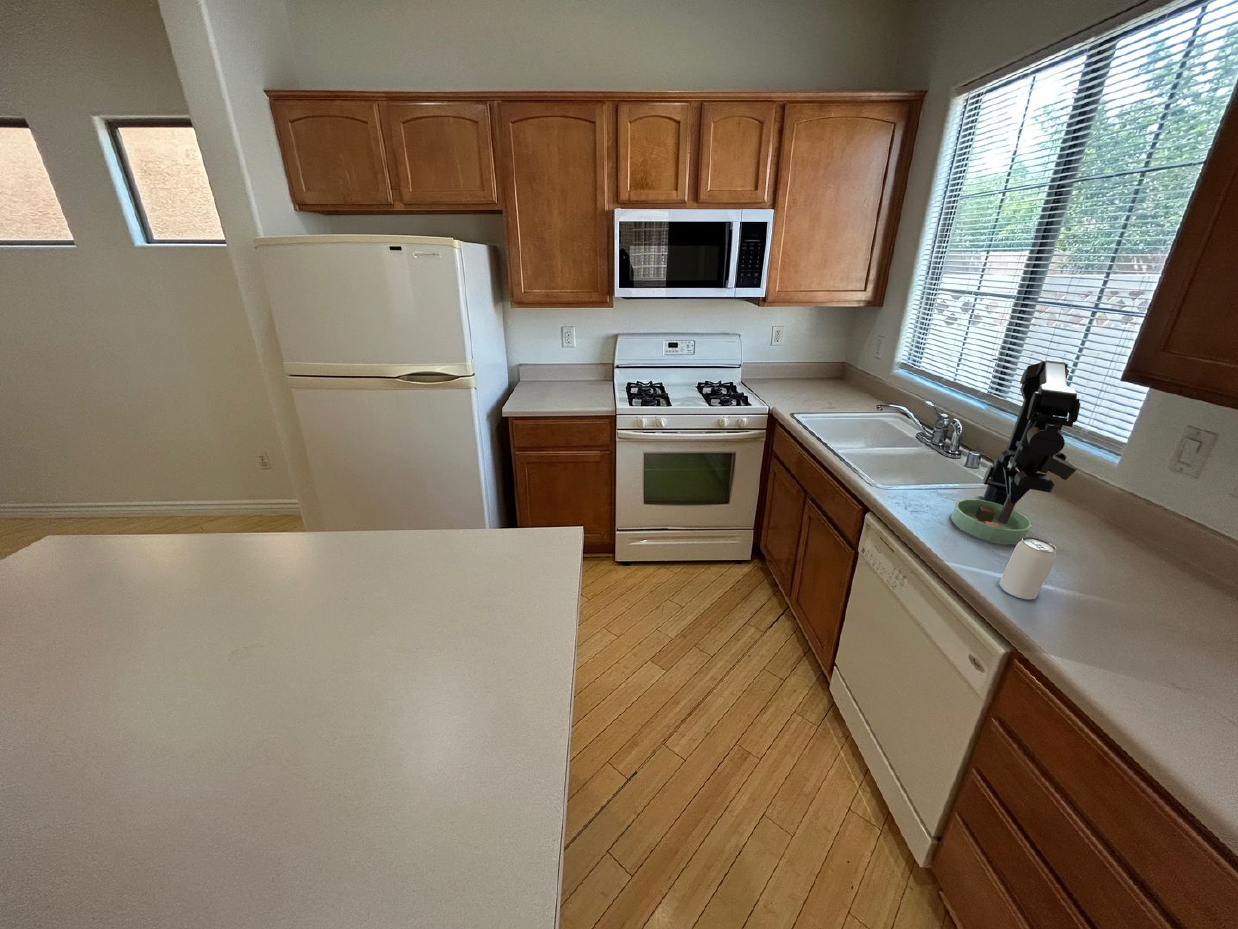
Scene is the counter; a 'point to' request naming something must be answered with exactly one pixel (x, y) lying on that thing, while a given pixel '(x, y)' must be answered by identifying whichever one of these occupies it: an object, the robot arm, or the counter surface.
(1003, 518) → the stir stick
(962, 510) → the bowl
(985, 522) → the terracotta block
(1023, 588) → the can
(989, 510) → the walnut block
